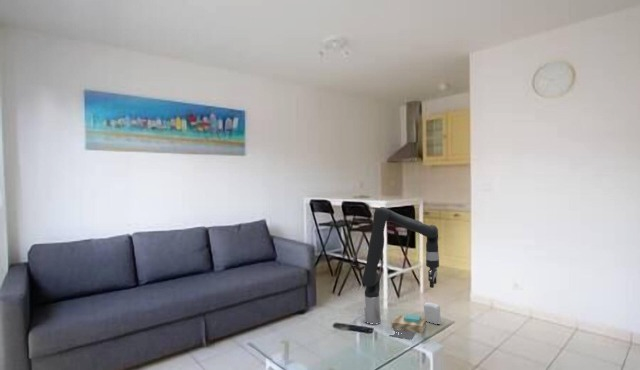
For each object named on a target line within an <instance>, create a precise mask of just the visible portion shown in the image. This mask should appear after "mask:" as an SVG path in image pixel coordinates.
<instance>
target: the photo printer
mask: <svg viewBox="0 0 640 370" xmlns="http://www.w3.org/2000/svg"><path fill="white" fill-rule="evenodd" d="M423 310H424V311H423V312H424V319H426V321H427V322H426V323H429V322H430V324H433V323H434V325H437V324H440V323H441V324H442V321H441V320H442V319H441V307H440V305H438V304H437V303H435V302H429V301H427V302H425V303H424V304H423ZM441 324H440V325H441Z"/></svg>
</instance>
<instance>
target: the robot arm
mask: <svg viewBox="0 0 640 370" xmlns="http://www.w3.org/2000/svg"><path fill="white" fill-rule="evenodd" d="M372 221H373V222H372V223H373V224H372V230H371V234H370V238H369V239H370V240H369V243H368V250H367V257H366V263H365V268H364V271H363V274H362V282H363V285H364V286H365V289H364V302H365V303H364V304H365V305H364V306H365V307H364V309H363V310H364V322H365V321H366V322H368V323H373V324H376V323H379V322H382V320H381V306H380V301H381V300H380V290H381V289H380V285H381V284H380V281H381V280H380V275H379V273H378V266H379V263H380V260H381V258H382V255H383V252H384V246H385V227H386V223H387V222H390V223H393V224H396V225H398V226H400V227H402V228H404V229H407V230H409V231H412V232H414V233H418V234H419V235H422V236H424V237H426V243H425V250H426V251H425V266H426V267H427V268H429V270H428V272H427V274H428V277H427V278H428V279H427V280H428V282H429V288H431V289H432V288H434V286H435V285H436V284H437V277H438V268H439V267H440V255H439V243H438V242H439V229H438V227H437V226H436V225H433V224H430V225H428V224H425V223H423V222H422V221H419V220H417V219H414V218H411V217H409V216H406V215H402V214H400V213H397V212H395V211H393V210H391V209H389V208H387V207H386V206H380V207H377V208H376V209H375V210H374V212H373V219H372ZM368 323H367V324H368ZM379 324H380V323H379ZM376 325H377V324H376Z"/></svg>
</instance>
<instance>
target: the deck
mask: <svg viewBox="0 0 640 370" xmlns="http://www.w3.org/2000/svg"><path fill="white" fill-rule="evenodd" d="M405 316H406V315H405ZM405 316H404V315H399V314H397V315H396V316H395V318H394V319H392V321H391V329H392V328H393V329H392V330H394V329H396V330H397V329H398V330H403V331H404V330H405V331H410V332H416V333H418V334H419V333H420V334H423V332H424V330H425V328H426V326H427V322H426V319H425V318H422V317H421V320H420V322H419V323H413V322H406V321H404V317H405Z"/></svg>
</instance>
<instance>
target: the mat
mask: <svg viewBox="0 0 640 370" xmlns="http://www.w3.org/2000/svg"><path fill="white" fill-rule="evenodd" d="M393 330H394V331H395V334H394V335H390V334H389V335H388V336H389V337H390V336H392V338H397V337H399V338H398V339H403V338H405V339H404V340H410V339H411V341H412V340H413V339H414V336H415V335H416V333H417V332H411V331H404V330H397V329H393ZM396 332H397V333H396ZM398 332H399V335H398ZM401 333H402V334H401Z"/></svg>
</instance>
